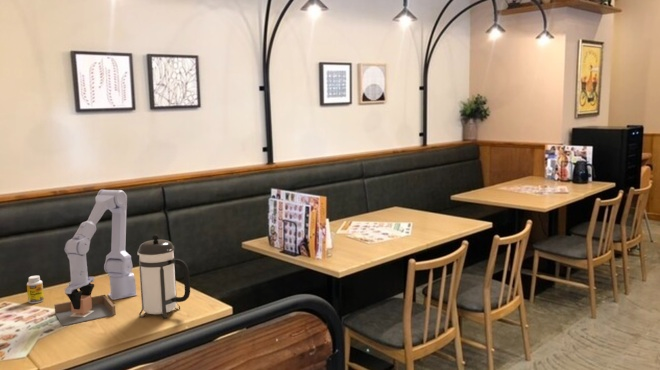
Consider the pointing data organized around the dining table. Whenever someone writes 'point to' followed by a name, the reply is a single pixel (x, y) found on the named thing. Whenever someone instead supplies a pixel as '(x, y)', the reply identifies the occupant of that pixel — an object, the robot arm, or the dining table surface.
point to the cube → (83, 305)
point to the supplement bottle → (35, 289)
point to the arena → (99, 310)
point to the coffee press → (160, 277)
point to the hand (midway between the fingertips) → (81, 306)
